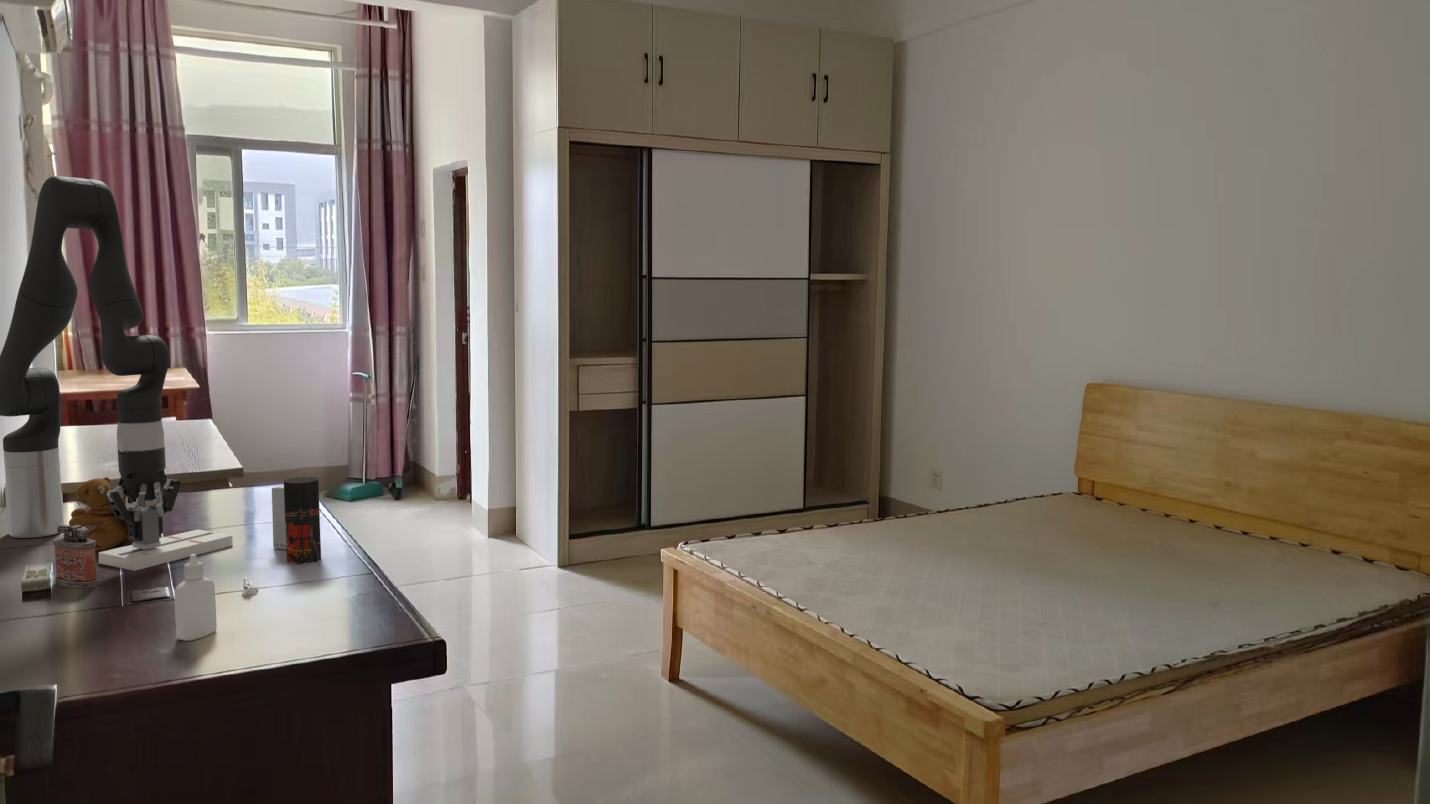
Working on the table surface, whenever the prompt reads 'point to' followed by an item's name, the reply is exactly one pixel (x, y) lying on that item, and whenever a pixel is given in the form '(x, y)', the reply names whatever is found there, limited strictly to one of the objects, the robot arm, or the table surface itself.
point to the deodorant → (302, 520)
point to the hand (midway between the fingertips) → (146, 538)
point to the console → (166, 550)
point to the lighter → (75, 557)
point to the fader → (149, 529)
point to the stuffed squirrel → (100, 515)
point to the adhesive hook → (249, 588)
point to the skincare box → (278, 517)
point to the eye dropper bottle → (195, 603)
